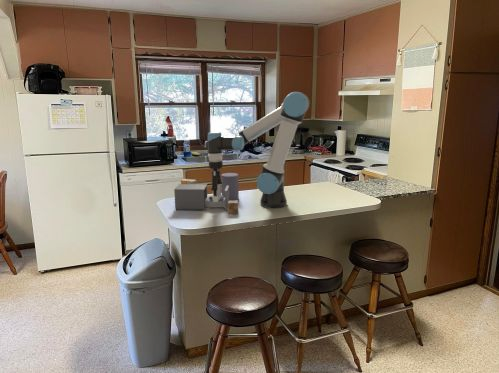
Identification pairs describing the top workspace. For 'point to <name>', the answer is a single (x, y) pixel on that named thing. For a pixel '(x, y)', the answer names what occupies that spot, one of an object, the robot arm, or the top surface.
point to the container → (230, 185)
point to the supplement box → (188, 181)
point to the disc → (218, 198)
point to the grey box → (190, 197)
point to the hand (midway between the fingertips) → (217, 198)
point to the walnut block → (233, 207)
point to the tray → (220, 203)
